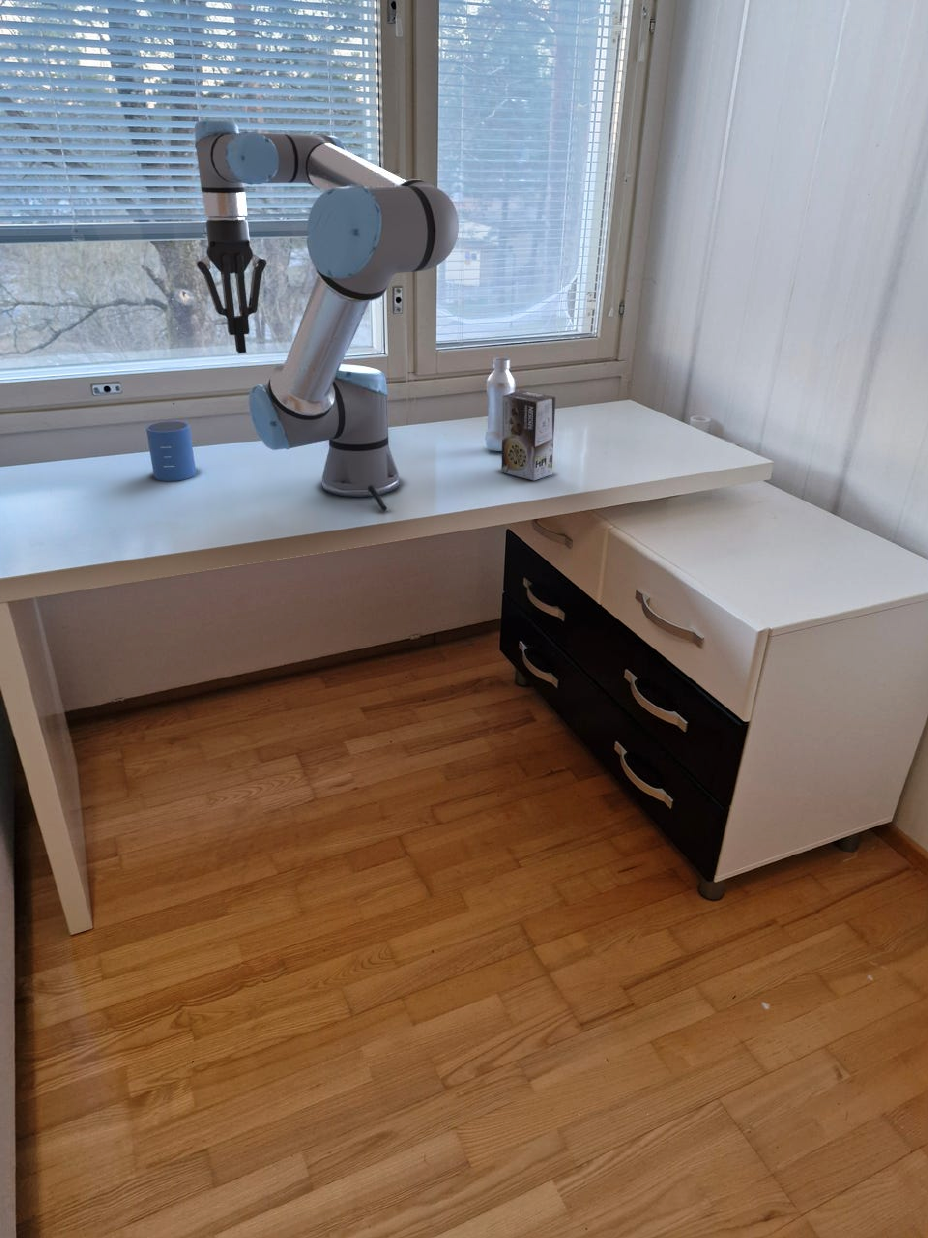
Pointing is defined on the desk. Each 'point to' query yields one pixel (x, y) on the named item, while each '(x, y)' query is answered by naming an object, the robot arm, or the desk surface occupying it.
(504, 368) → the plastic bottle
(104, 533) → the desk surface
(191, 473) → the measuring cup
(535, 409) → the coffee box
